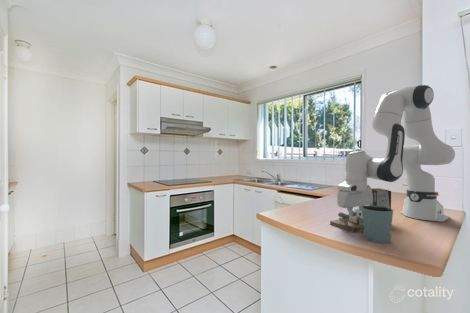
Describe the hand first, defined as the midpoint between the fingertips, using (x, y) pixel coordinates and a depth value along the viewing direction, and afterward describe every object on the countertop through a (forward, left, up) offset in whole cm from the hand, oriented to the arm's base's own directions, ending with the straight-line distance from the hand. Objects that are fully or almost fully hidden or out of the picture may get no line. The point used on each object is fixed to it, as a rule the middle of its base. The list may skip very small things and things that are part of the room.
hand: (355, 215), depth 100 cm
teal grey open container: (+8, +15, -5) cm, 17 cm away
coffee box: (-16, +1, -5) cm, 17 cm away
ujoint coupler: (0, 0, -3) cm, 3 cm away
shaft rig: (0, 0, -5) cm, 5 cm away
